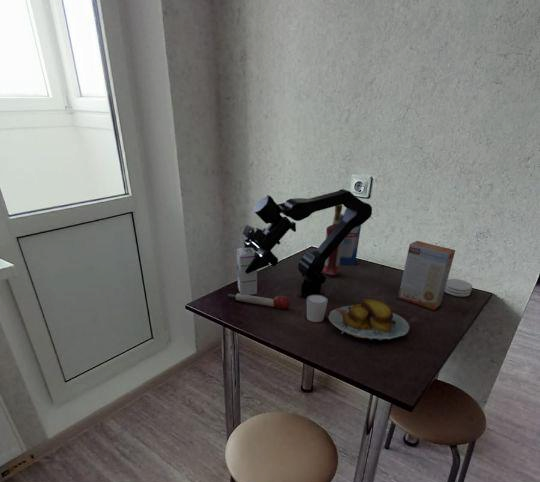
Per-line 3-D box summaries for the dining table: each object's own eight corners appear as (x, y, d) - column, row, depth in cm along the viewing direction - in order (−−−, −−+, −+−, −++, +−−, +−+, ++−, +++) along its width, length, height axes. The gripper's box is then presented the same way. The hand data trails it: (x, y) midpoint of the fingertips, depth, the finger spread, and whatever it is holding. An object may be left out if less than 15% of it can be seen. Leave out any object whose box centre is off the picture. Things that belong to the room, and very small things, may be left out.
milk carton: (332, 263, 178) (337, 217, 168) (332, 258, 184) (338, 213, 174) (355, 265, 177) (362, 219, 167) (355, 260, 183) (361, 215, 172)
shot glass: (327, 315, 136) (329, 296, 132) (323, 324, 130) (325, 305, 127) (307, 311, 138) (309, 293, 134) (302, 320, 132) (304, 301, 128)
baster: (290, 306, 140) (291, 295, 138) (287, 311, 137) (288, 300, 135) (231, 296, 146) (231, 285, 144) (226, 301, 142) (226, 290, 140)
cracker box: (440, 305, 145) (456, 249, 135) (433, 311, 141) (449, 253, 131) (404, 293, 153) (417, 239, 143) (397, 298, 149) (409, 243, 139)
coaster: (462, 299, 150) (465, 291, 148) (437, 290, 157) (440, 282, 155) (474, 293, 156) (477, 284, 154) (450, 284, 162) (452, 276, 161)
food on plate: (312, 325, 129) (314, 307, 126) (355, 302, 145) (357, 285, 142) (382, 358, 114) (387, 338, 111) (421, 328, 130) (426, 310, 127)
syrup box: (257, 294, 136) (258, 253, 128) (240, 295, 134) (239, 254, 126) (253, 286, 140) (254, 246, 132) (236, 288, 139) (236, 248, 131)
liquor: (321, 270, 171) (329, 202, 156) (339, 271, 170) (348, 203, 156) (321, 276, 164) (329, 206, 150) (339, 278, 164) (348, 207, 149)
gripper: (247, 209, 133) (216, 245, 135) (270, 224, 118) (234, 264, 120) (269, 230, 140) (239, 264, 142) (292, 247, 125) (259, 285, 127)
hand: (242, 268), depth 133 cm, fingers closed on syrup box, 6 cm apart
